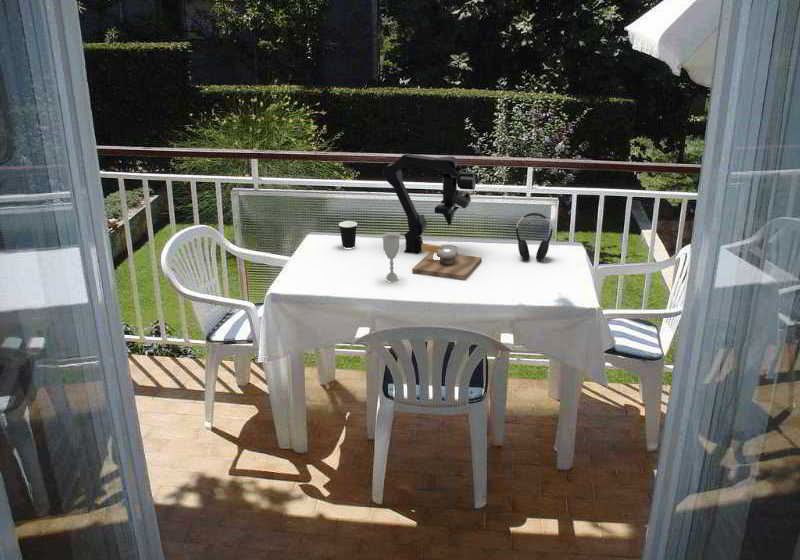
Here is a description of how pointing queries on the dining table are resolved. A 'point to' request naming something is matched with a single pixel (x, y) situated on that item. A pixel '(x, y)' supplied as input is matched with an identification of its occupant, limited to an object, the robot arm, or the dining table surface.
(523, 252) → the headphones
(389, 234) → the chalice
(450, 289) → the dining table surface
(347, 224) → the dixie cup
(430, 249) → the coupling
